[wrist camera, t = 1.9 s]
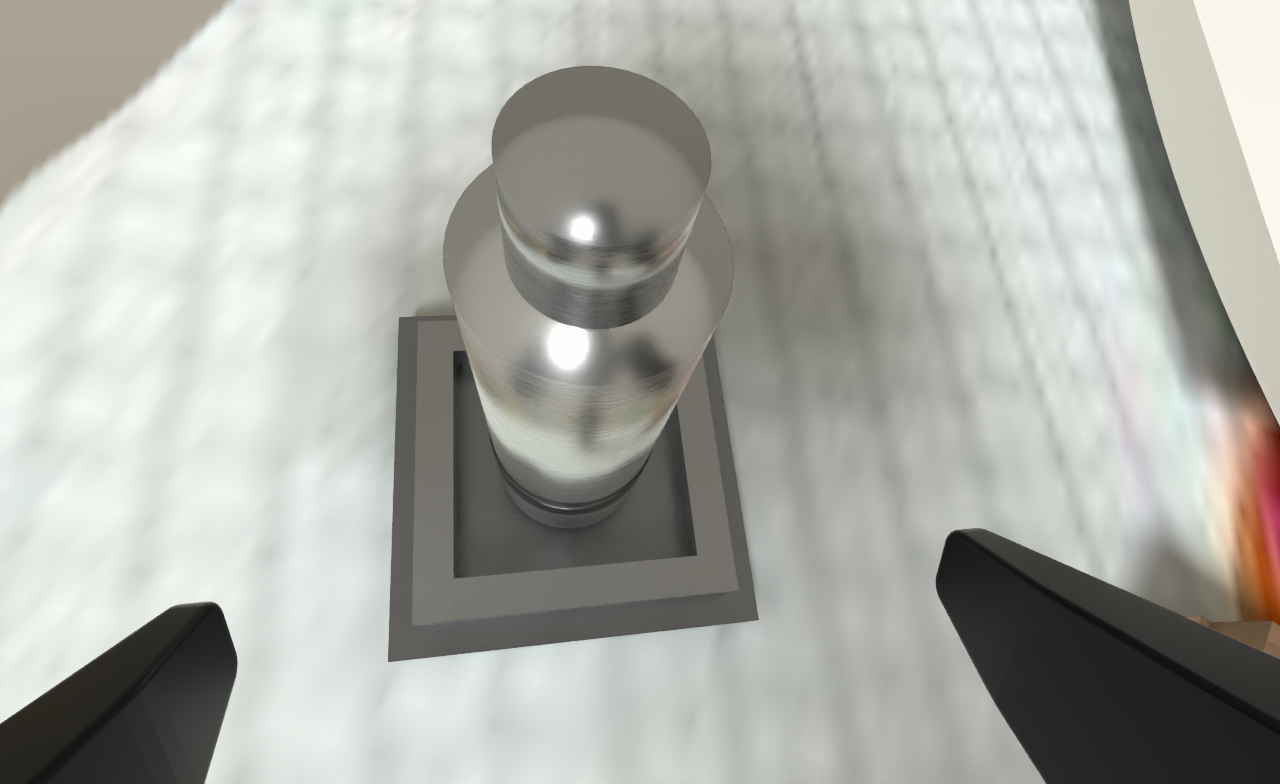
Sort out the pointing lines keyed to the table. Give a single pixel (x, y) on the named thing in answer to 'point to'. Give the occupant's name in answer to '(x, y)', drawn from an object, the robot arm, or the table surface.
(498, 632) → the socket
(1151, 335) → the table surface
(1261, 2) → the board
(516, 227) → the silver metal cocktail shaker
